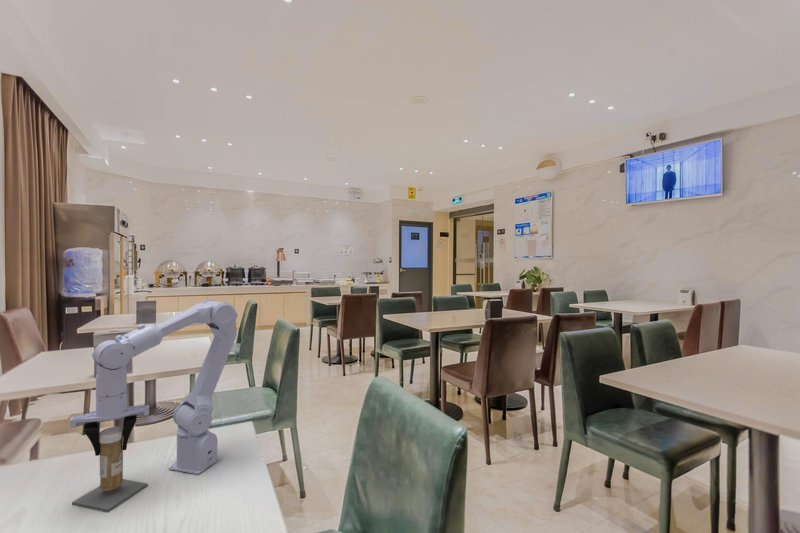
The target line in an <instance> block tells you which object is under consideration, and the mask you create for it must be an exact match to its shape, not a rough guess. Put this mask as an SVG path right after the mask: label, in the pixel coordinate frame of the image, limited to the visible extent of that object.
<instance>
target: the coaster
mask: <svg viewBox="0 0 800 533" xmlns="http://www.w3.org/2000/svg"><path fill="white" fill-rule="evenodd" d="M148 483H149V482H148ZM148 483H146V482H142V481H136V480H131V479H126V478H125V479H124V478H123V483H122V484H121V485H120V486H119V487H117V488H115V489H113V490H107V491H104V490H101V489H100V485H99V486H97V487H96V488H93V489H92V490H90V491H88V492H87V493H85V494H84V495H81V496H80V497H79V498H77V499H74V500H73V501H71V505H72V506H77V507H81V508H85V509H91V510H95V511H100V512H104V513H105V512H106V513H109V512H111V511H112V510H114V509H115V508H117V507H119V506H120V505H121V504H123V503H124V502H126V501H128V500H129V499H130V498H132V497H133V496H135V495H136V494H138V493H139V492H141V491H142V490H144V489H145V488H147V487H148V485H149V484H148Z"/></svg>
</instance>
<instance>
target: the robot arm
mask: <svg viewBox="0 0 800 533" xmlns="http://www.w3.org/2000/svg"><path fill="white" fill-rule="evenodd" d="M238 315H239V314H238V312H237V311H236V309H235V307H234V306H233V304H231V303H230V302H229V303H228V302H223V301H218V300H217V301H216V300H215V299H214V300H213V299H207V300H204V301H203V302H199V303H196V304H194V305H193V306H191V307H188V308H187V309H185V310H184V311H181V312H180V313H177V314H175V315H174V316H171V317H170V318H168V319H166V320H164V321H162V322H160V323H158V324H156V325H154V324H151V323H147V324H144V323H141V324H138V325H136V329H133V330H131V331H130V332H126V333H125V334H123V335H121V334H118V335H116V336H114V337H115V340H113V339H111V340H110V339H109V340H105V341H102V342H100V343H99V344H98V345H97V346H96V347H95V349H94V351H93V353H92V354H91V358H92V359H93V361H94V362H95V363H97V364H96V369H95V370H96V375H95V411H92V412H89V413H88V412H87V413H85V414H84V413H83V414H80V415H75V416H71V418H70V420H69V423H70V424H69V428H70V429H75V428H77V427H80V426H81V427H82V426H84V427H83V432H84V434H85V435H86V437H87V438H88V440H89V441H90V443H91V445H92V447H93V450H94V455H95V457H98V456H100V442H99V433H100V432H101V423H105V422H112V421H116V420H122V419H123V424H122V425H123V426H122V428H123V439H122V440H123V441H122V443H123V444H122V445H123V451H126V450H127V449H128V448H127V447H128V443H129V442H128V441H129V438H130V436H131V433H132V431H133V429H134V427H135V425H136V423H137V418H138V417H141V416H143V417H146V416H149V415H150V404H146V405H145V404H144V405H130V406H128V402H127V400H128V396H127V393H128V390H127V388H128V387H127V386H128V375H127V364H128V363H129V362H130V360H131V358H134V357H136V356H139V355H140V354H142V353H144V352H146V351H149V350H150V349H152V348H154V347H157V346H159V345H160V344H161V343H162V340H163V339H164V337H166V336H168V335H170V334H172V333H175V332H177V331H180V330H181V329H184V328H186V327H188V326H191V325H193V324H206V325H207V326H208V327H209V329H210V331H211V333H212V334H213V339H212V341H211V344H210V346H209V349H208V351H207V354H206V356H205V358H204V360H203V363H202V365H201V368H200V370H199V372H198V375H197V377H196V380H195V382H194V384H193V386H192V389H191V392H189V393H188V394H187V395H185V396H184V397H183V399H182V402H181V403H180V404H179V405H178V406H177V407H176V409H175V410H174V412H173V416H172V417H173V418H172V419H173V422H174V423H175V424H176V425H177V430H176V462H174V463H173V464H171V465H169V466H168V470H171V471H177V472H184V473H188V474H194V475H199V474H200V475H201V473H202V472H204V471H205V470H207V469H208V468H209V467H210V466H212V465H213V464H215V463H216V462H217V461H218V460H219V459H220V457H219V456H218V437H217V435H216V434H215V433H214V432H211V431H210V430H209V428H210V427H211V424H212V420H213V419H212V413H213V410H214V402H213V395H214V393H215V389H216V388H217V386H218V385H217V384H218V383H219V380H220V378H221V375H222V373H223V370H224V368H225V366H226V362H227V360H228V358H229V356H230V352H231V350H232V348H233V345H234V342H235V340H236V338H237V335H238V334H237V318H238Z"/></svg>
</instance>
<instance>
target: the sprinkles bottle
mask: <svg viewBox="0 0 800 533" xmlns="http://www.w3.org/2000/svg"><path fill="white" fill-rule="evenodd" d="M123 438H124V435H123V426H122V427H121V426H110V427H106V428H105V429H103V430H100V433H99V442H100V455H99V478H100V480H99V481H100V482H99V483H100V484H99V486H100V489H101V490H104V491H107V490H113V489H115V488H117V487H119V486H120V485H121V484H122V483H123V479H124V478H123V476H124V474H123V473H124V450H123Z"/></svg>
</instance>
